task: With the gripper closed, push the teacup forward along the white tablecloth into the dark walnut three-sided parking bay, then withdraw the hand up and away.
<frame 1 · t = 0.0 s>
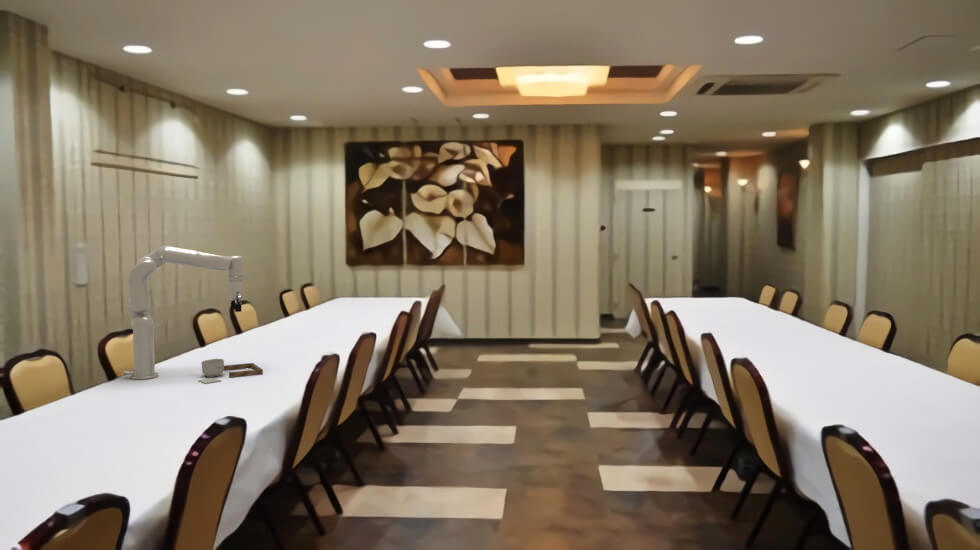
hand: (236, 310, 379), 31 cm above the table, fingers open, 9 cm apart
bay: (240, 372, 370), on the table
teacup: (214, 375, 363), on the table
coaster: (209, 382, 349), on the table
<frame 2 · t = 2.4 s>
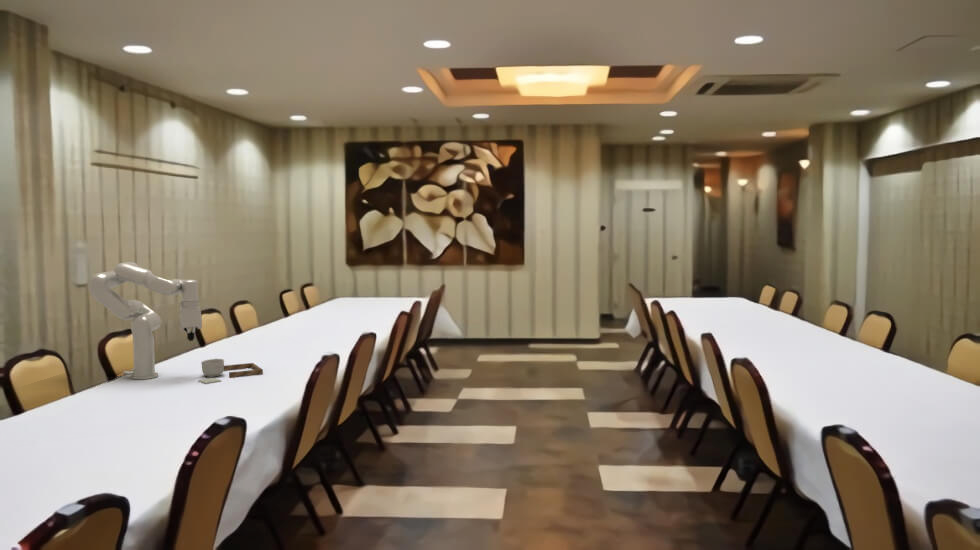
hand: (190, 340, 356), 19 cm above the table, fingers closed
nothing on the table moved.
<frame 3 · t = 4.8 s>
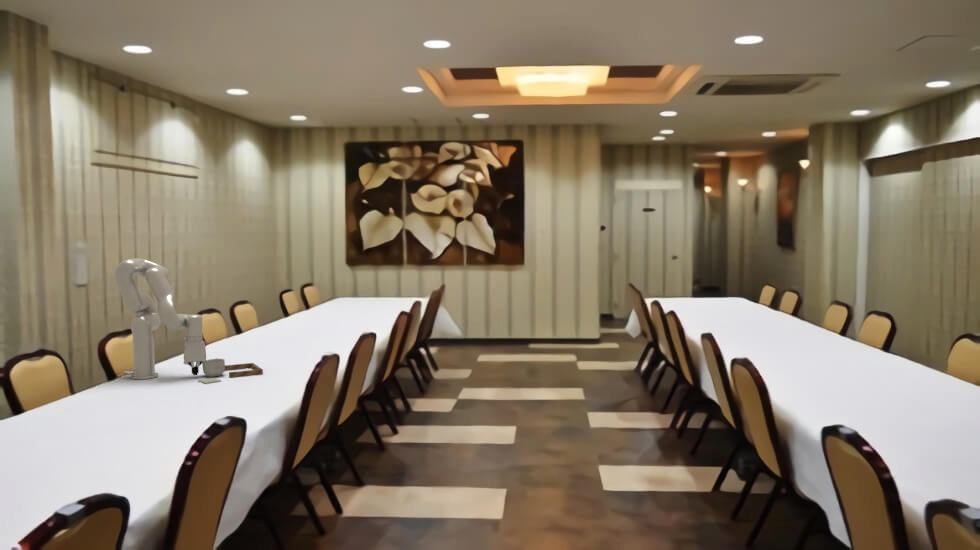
hand: (195, 374, 358), 1 cm above the table, fingers closed
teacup: (214, 375, 363), on the table, touching gripper
everything else where it was.
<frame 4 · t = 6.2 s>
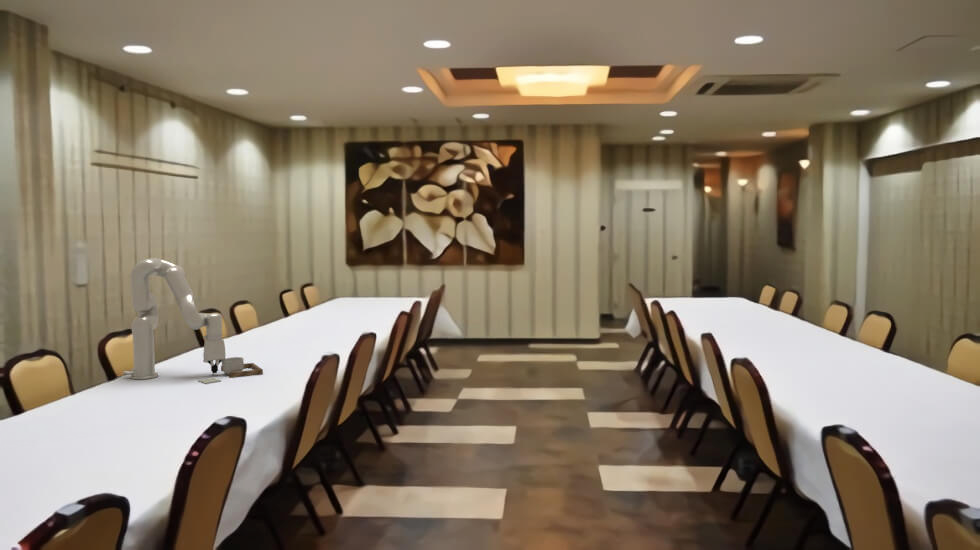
hand: (214, 372, 363), 1 cm above the table, fingers closed
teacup: (233, 373, 368), on the table, touching gripper
everything else where it was.
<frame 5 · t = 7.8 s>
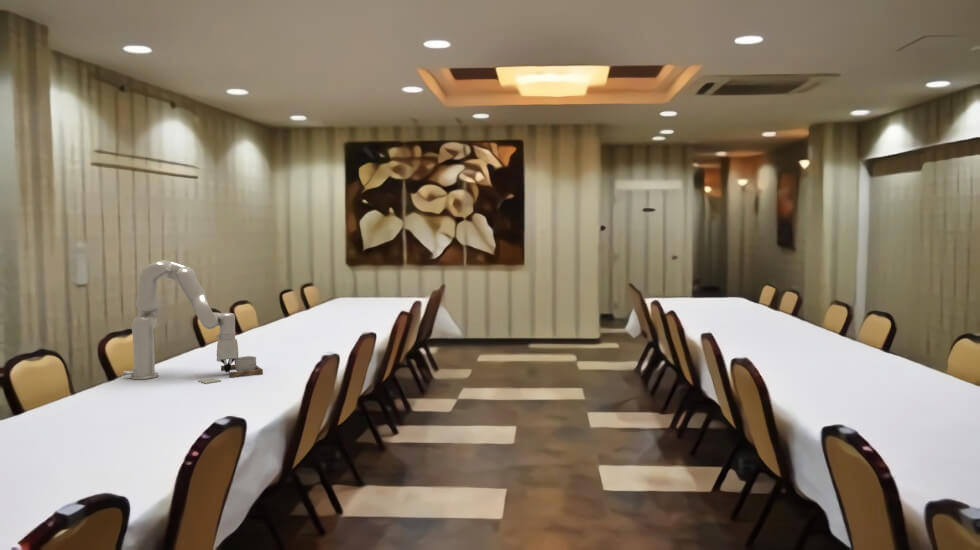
hand: (227, 371, 367), 1 cm above the table, fingers closed
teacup: (246, 372, 371), on the table, touching bay, gripper
everything else where it was.
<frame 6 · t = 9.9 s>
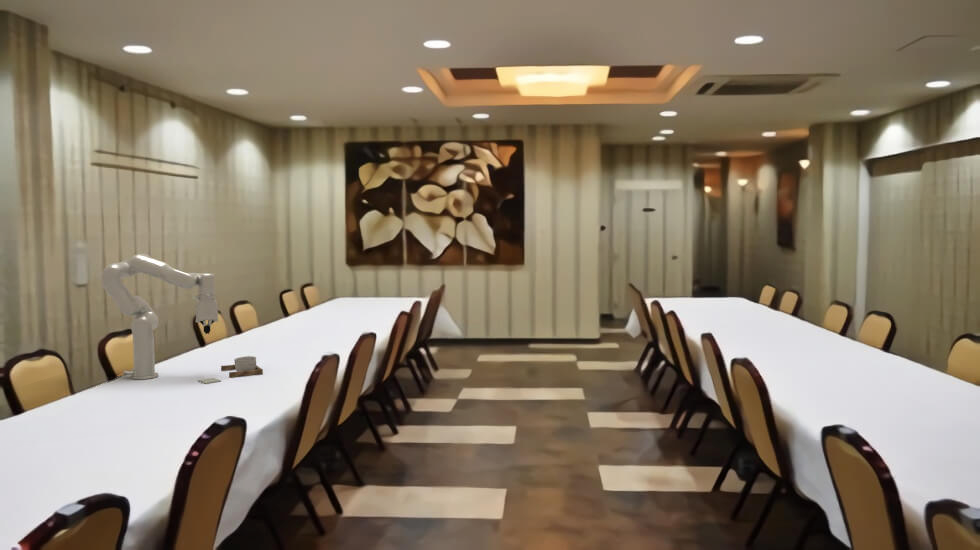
hand: (207, 333, 360), 22 cm above the table, fingers closed
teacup: (246, 372, 371), on the table
everything else where it was.
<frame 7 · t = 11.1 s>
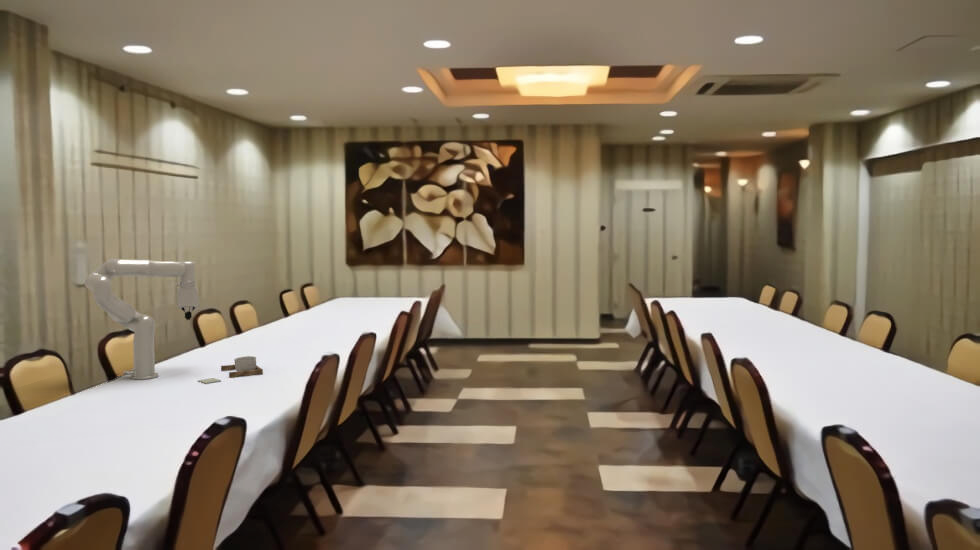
hand: (188, 319, 371), 27 cm above the table, fingers closed
nothing on the table moved.
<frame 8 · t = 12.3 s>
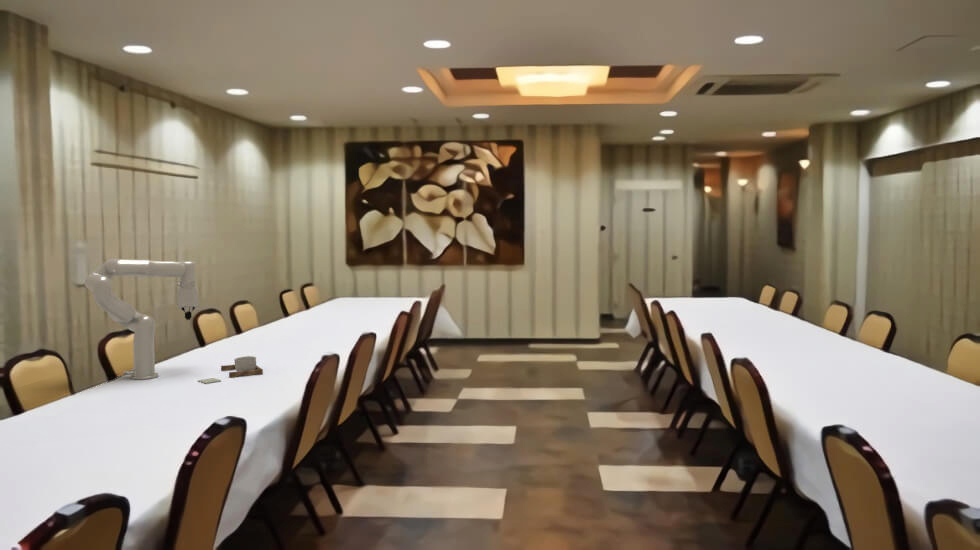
hand: (188, 319, 371), 27 cm above the table, fingers closed
nothing on the table moved.
at the end: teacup inside the target area (2.4 cm from its centre), on the table; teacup tilted 0°; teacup touching table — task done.
